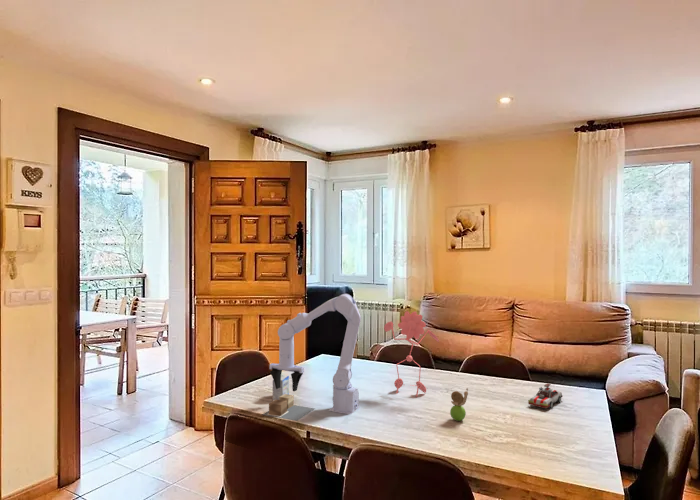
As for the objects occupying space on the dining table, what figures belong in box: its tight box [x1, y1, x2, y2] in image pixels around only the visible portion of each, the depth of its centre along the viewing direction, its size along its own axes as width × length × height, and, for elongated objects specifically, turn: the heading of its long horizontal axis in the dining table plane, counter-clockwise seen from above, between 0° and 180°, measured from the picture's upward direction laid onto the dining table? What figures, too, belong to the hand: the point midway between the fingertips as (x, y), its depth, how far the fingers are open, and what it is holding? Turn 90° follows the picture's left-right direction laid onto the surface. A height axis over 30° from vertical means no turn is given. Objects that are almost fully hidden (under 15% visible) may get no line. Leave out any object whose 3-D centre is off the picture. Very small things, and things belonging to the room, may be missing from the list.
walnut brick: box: [268, 399, 287, 416], centre depth 170 cm, size 5×5×4 cm
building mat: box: [261, 404, 316, 422], centre depth 172 cm, size 15×14×1 cm
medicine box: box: [272, 374, 290, 401], centre depth 189 cm, size 8×4×9 cm, turn 168°
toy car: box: [527, 382, 563, 410], centre depth 182 cm, size 8×18×8 cm, turn 136°
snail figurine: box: [449, 388, 469, 422], centre depth 164 cm, size 5×6×12 cm
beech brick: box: [279, 394, 295, 409], centre depth 177 cm, size 4×4×4 cm
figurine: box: [383, 310, 440, 398], centre depth 199 cm, size 15×26×35 cm, turn 60°
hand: (286, 389), depth 178 cm, fingers open, 7 cm apart
